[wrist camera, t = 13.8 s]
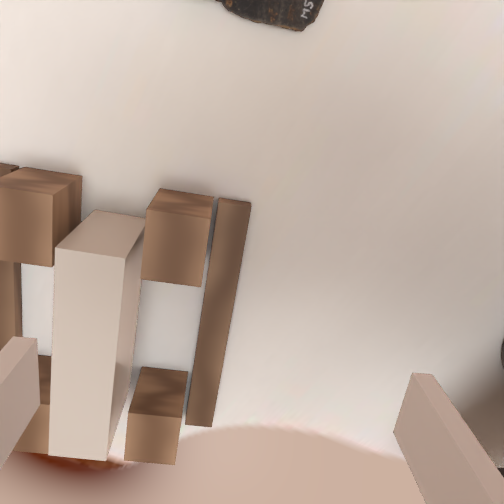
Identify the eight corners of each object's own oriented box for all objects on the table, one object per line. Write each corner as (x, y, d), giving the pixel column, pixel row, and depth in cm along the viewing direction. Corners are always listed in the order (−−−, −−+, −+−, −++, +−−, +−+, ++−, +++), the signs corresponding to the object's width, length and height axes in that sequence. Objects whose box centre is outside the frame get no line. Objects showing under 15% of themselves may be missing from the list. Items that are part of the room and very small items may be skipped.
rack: (250, 202, 40) (254, 225, 34) (212, 417, 50) (209, 467, 43) (-17, 160, 38) (-68, 176, 31) (-5, 395, 47) (-43, 445, 41)
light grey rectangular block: (149, 218, 41) (125, 258, 31) (129, 387, 48) (106, 461, 39) (95, 209, 40) (54, 247, 31) (83, 381, 47) (48, 455, 38)
